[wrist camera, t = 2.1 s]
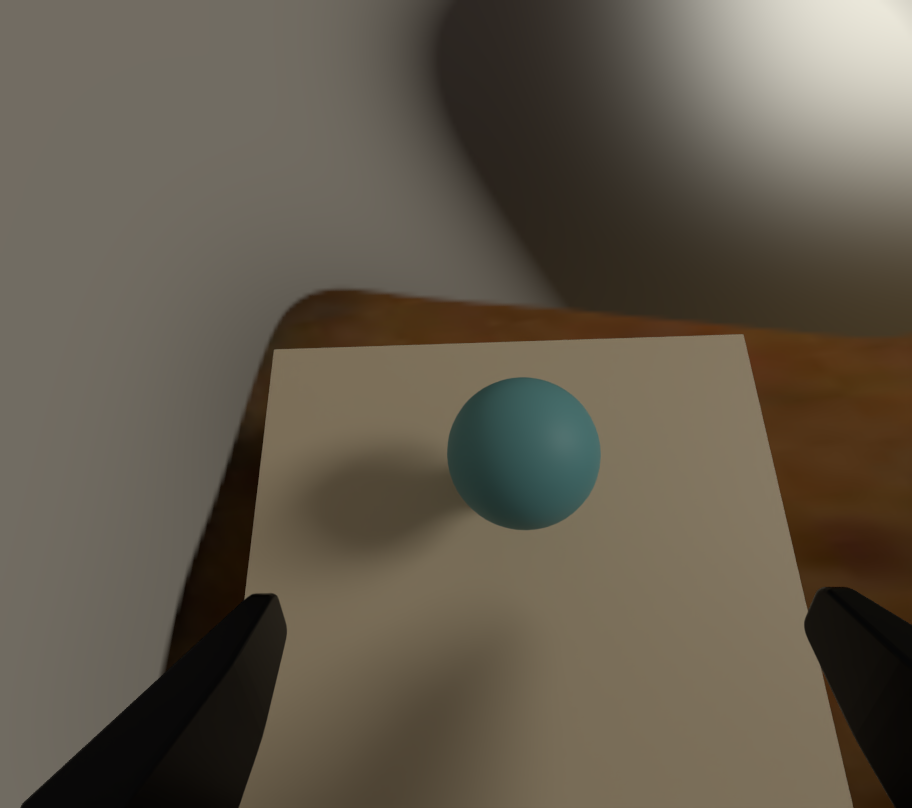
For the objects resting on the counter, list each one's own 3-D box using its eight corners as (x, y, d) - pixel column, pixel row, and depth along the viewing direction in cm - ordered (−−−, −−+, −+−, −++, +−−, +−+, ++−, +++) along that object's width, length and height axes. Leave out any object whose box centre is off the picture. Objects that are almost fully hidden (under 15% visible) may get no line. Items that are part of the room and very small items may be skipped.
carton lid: (841, 831, 11) (1181, 1082, 6) (228, 828, 11) (17, 1055, 6) (733, 343, 15) (872, 223, 10) (281, 357, 15) (179, 251, 10)
